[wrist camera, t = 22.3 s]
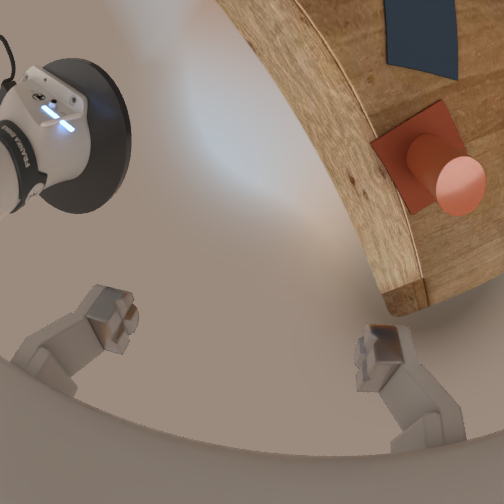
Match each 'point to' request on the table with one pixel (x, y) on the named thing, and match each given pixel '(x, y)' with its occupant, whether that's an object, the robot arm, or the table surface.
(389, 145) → the terracotta mat
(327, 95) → the table surface
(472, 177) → the orange cylinder block
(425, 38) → the slate mat
